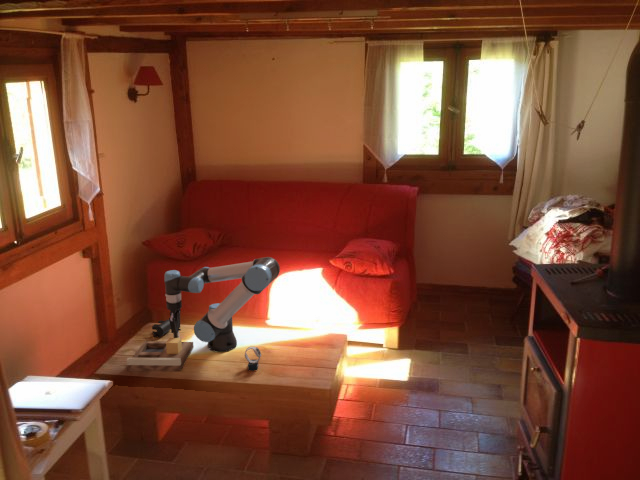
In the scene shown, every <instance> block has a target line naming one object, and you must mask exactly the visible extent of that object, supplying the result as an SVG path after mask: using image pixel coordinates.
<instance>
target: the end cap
mask: <svg viewBox="0 0 640 480" xmlns="http://www.w3.org/2000/svg"><path fill="white" fill-rule="evenodd" d="M157 323H158V324H157ZM157 323H156V324H153V325H152V326H151V329H152V330H153V331H152V332H151V333H152V335H153V337H154V338H161V337H163V336H164V335H166V334H167V333H168V332H169V331H171V326H170V321H169V319H166V320H159V321H157Z"/></svg>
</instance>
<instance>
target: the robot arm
mask: <svg viewBox="0 0 640 480" xmlns="http://www.w3.org/2000/svg"><path fill="white" fill-rule="evenodd" d="M280 267H281V265H280V264H279V262H278V261H277V259H275V258H273V257H271V256H265V257H259V258H254V259H253V261H252V260H251V261H248V262H241V263H234V264H233V263H232V264H228V265H221V266H214V267H213V266H212V267H209V266H204V267H201V268H200V269H198V270H196V271H194V273H192V274H191V275H188V276H185V275H184V276H183V275H181V272H180V271H179V270H176V269H172V270H171V269H170V270H167V271H165V273H164V279H163V280H164V288H165V294H164V296H165V297H166V298H165V301H166V303H165V305H166V309H167V310H169V316H170V317H168V320H169V321H170V326H171V329H170V331H171V334H173V335H172V336H173V337H172V338H181V337H180V331H181V330H182V329H181V312H182V311H181V310H182V306H183V302H182V292H184V293H185V292H186V293H191V294H199V293H200V294H201V292H203V291H202V290H203V289H204V286H205V284H210V283H211V284H212V283H216V282H224V281H231V280H239V279H241V282H240V283H239V284H238V285H237V286H236V287H235V288H234V289H232V291H231V292H230V293H229V294H228V295H227V296H226V297H225V298H224V299H223V300H222V301H221V302H220V303H219V302H218V303H211V304H210V305H209V306H208V311H207V312H206V313H204V316H202V317H201V318H200V319H199V320H198V321H196V322H195V324H194V326H193V333H194V335H195V337H196V339H198V340H199V341H201V342H203V343H207V348H208V349H209V350H210V351H213V352H217V353H222V352H224V353H225V352H229V351H232V350H233V349H235V348H236V347H237V346H238V341H237V337H236V336H235V333H234V328H233V326H234V325H233V316H234V315H235V314H236V313H237V312H238V311H239V310H241V308H242V307H243V306H244V305H246V303H247V302H248V301H249V300H250V299H252V297H254V296H255V295H259V294H261V293H262V292H263V291H264V290H265V289H266V288H268V286H270V284H271V283H273V281H274V280H275V279H277V277H278V276H279V275H280V273H281V272H280V271H281V268H280Z"/></svg>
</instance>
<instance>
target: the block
mask: <svg viewBox="0 0 640 480" xmlns="http://www.w3.org/2000/svg"><path fill="white" fill-rule="evenodd" d="M165 342H166V349H167V354H179V353H180V351H181V349H182V343H181V342H182V337H180V338H174V337H168V339H167V341H165Z"/></svg>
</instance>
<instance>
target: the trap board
mask: <svg viewBox="0 0 640 480" xmlns="http://www.w3.org/2000/svg"><path fill="white" fill-rule="evenodd" d="M166 342H167V341H147V340H146V341H143V343H142V344H141V345H140V347H139V348H138V349H137V351H136V352H135V354H134V355H133V356H132V357H127V358H126V367H127V371H128V372H131V371H132V370H133V371H132V372H135V371H136V372H139V371H142V372H181V371H182V370H183V368H184V366H185V364H186V362H187V360H188V358H189V356H190V355H191V352H192V351H193V349H194V341H181V343H182V349H181V351H180V353H179V354H167V349H166ZM129 370H130V371H129Z"/></svg>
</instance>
